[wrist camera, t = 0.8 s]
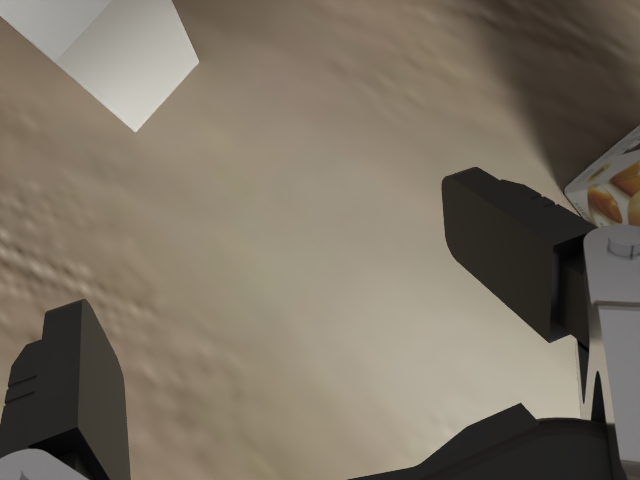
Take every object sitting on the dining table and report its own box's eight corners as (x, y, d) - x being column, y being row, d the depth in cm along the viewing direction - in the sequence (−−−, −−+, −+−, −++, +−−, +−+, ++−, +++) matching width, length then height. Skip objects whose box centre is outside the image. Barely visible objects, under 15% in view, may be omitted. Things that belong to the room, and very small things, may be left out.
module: (141, 12, 30) (65, -118, 20) (199, 61, 30) (152, -43, 20) (77, 82, 29) (-35, -14, 19) (135, 132, 29) (54, 62, 19)
